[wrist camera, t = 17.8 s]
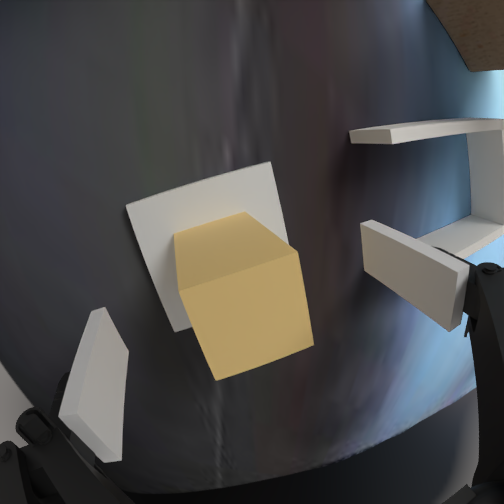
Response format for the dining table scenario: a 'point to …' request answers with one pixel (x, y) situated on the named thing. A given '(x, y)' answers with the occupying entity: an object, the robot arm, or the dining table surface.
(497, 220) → the white u-shaped frame
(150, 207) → the tile
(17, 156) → the dining table surface
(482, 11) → the wooden block
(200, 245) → the block
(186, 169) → the dining table surface
